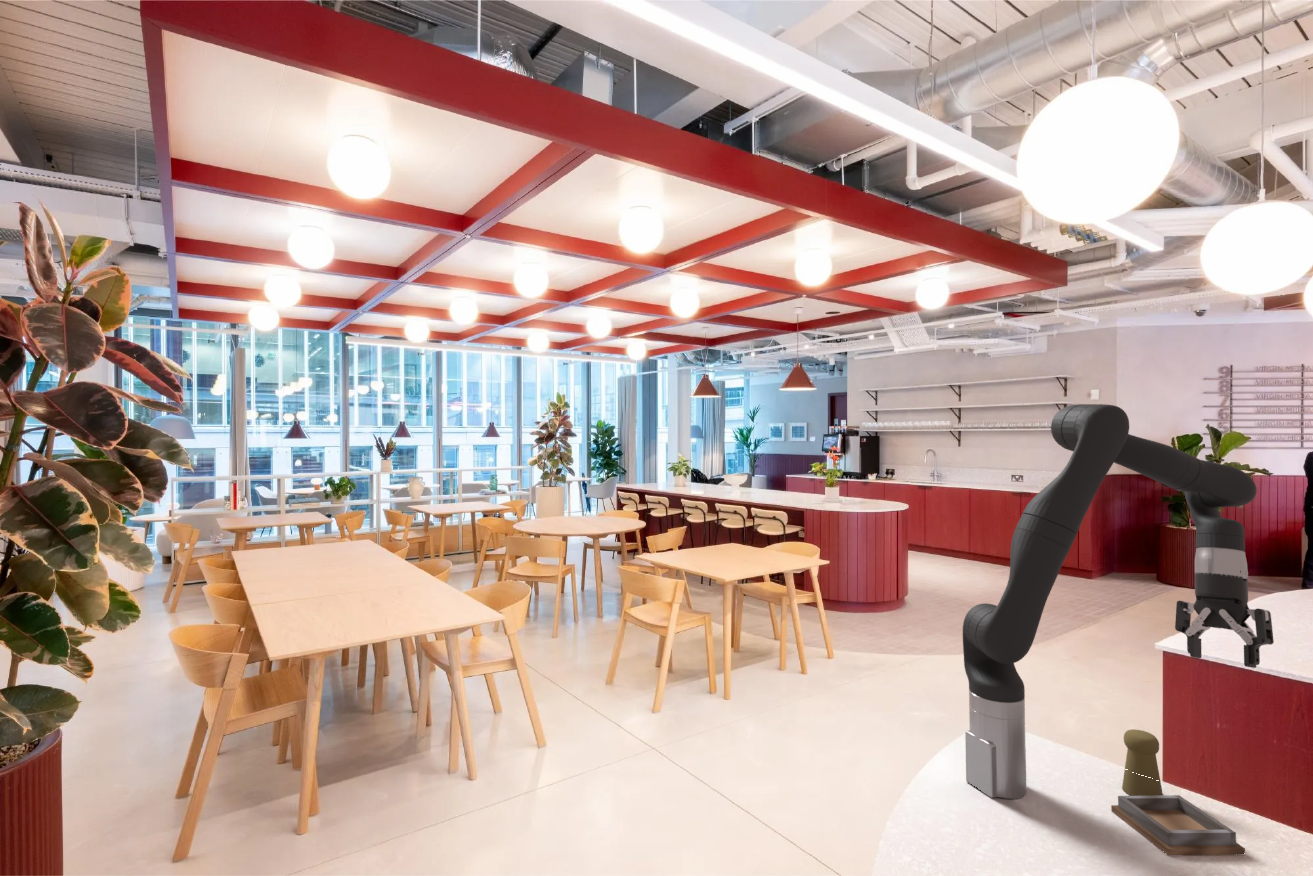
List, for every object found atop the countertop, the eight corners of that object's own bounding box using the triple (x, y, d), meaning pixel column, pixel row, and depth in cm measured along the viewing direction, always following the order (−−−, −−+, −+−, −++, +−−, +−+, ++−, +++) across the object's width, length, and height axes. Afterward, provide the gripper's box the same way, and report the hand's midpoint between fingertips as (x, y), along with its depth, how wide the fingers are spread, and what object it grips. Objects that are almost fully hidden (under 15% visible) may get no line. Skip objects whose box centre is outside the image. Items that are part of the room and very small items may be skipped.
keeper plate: (1167, 855, 97) (1167, 836, 97) (1111, 811, 109) (1111, 793, 109) (1245, 854, 97) (1244, 835, 97) (1180, 810, 109) (1179, 793, 109)
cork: (1171, 804, 111) (1169, 741, 112) (1132, 800, 113) (1131, 738, 113) (1151, 786, 117) (1150, 726, 118) (1115, 783, 119) (1114, 724, 119)
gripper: (1166, 568, 125) (1166, 653, 122) (1254, 574, 112) (1257, 668, 109) (1190, 574, 128) (1191, 656, 125) (1280, 579, 114) (1283, 672, 111)
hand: (1222, 662), depth 117 cm, fingers open, 8 cm apart
